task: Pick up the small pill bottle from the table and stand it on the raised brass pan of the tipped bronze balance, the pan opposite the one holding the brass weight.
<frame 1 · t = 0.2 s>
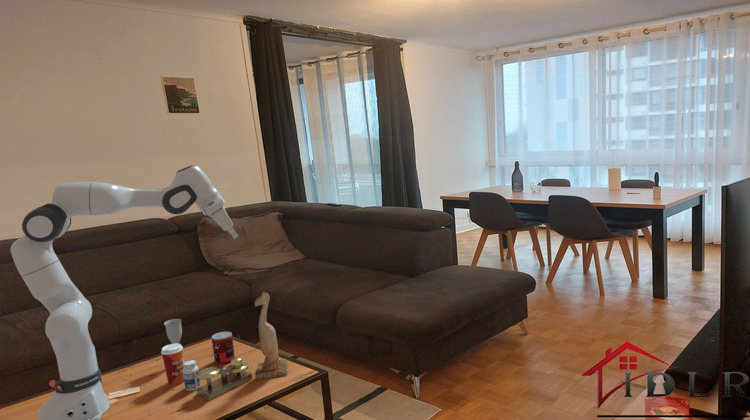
hand: (235, 235, 179), 54 cm above the table, tool tilted 30°, fingers open, 8 cm apart
canned food: (225, 360, 199), on the table
pill bottle: (193, 388, 178), on the table
balance: (225, 386, 177), on the table
bird sculpture: (272, 371, 186), on the table
chalice: (178, 364, 200), on the table
paper cup: (176, 382, 184), on the table
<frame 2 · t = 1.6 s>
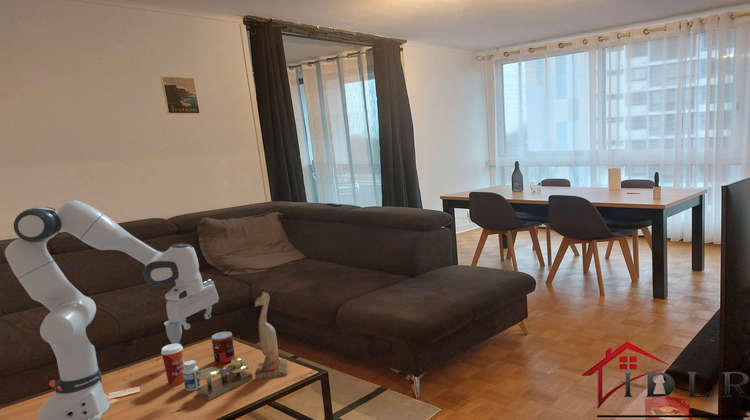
hand: (198, 323, 177), 23 cm above the table, tool pointing down, fingers open, 8 cm apart
nothing on the table moved.
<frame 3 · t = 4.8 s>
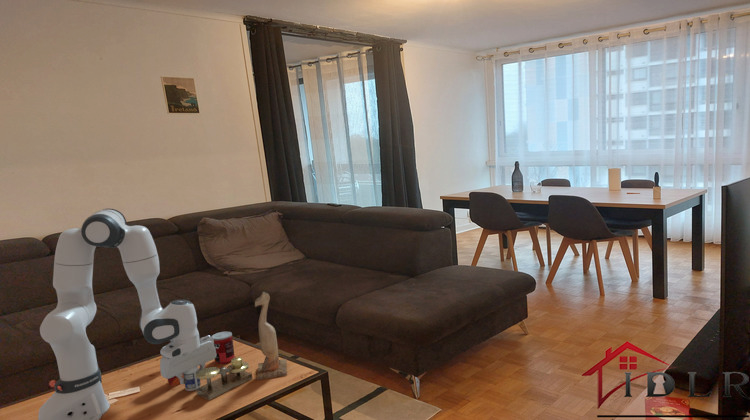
hand: (192, 379, 177), 3 cm above the table, tool pointing down, fingers closed on pill bottle, 5 cm apart
pill bottle: (193, 388, 178), on the table, touching gripper
everything else where it was.
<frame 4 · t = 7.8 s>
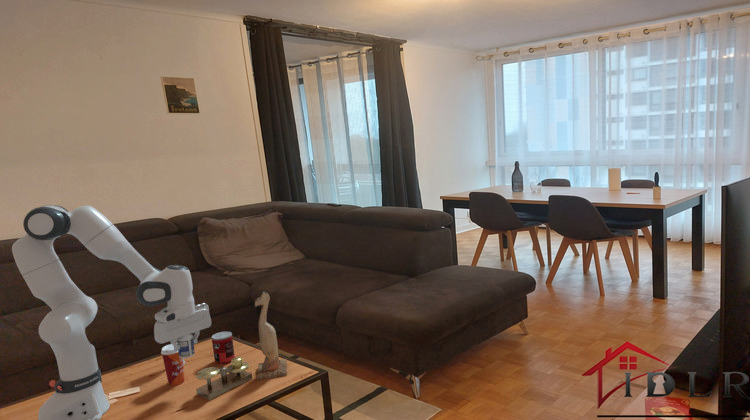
hand: (185, 346, 176), 16 cm above the table, tool pointing down, fingers closed on pill bottle, 5 cm apart
pill bottle: (187, 356, 176), point 12 cm above the table, touching gripper
everything else where it was.
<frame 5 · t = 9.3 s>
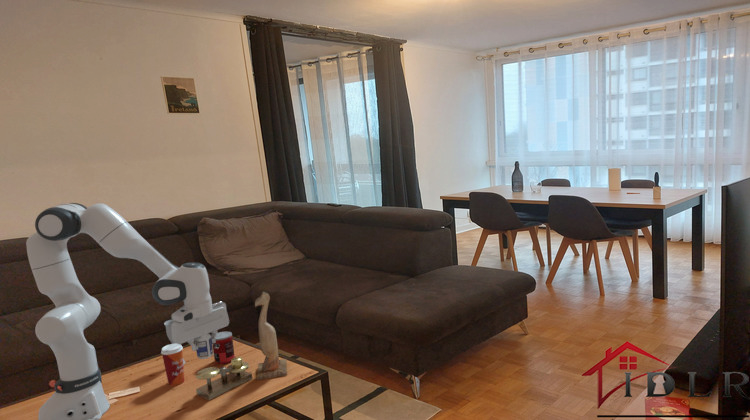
hand: (204, 346, 170), 18 cm above the table, tool pointing down, fingers closed on pill bottle, 5 cm apart
pill bottle: (205, 356, 170), point 14 cm above the table, touching gripper
everything else where it was.
when the fingers open (12 cm above the table, at t = 10.9 s): pill bottle stays where it is, resting on balance.
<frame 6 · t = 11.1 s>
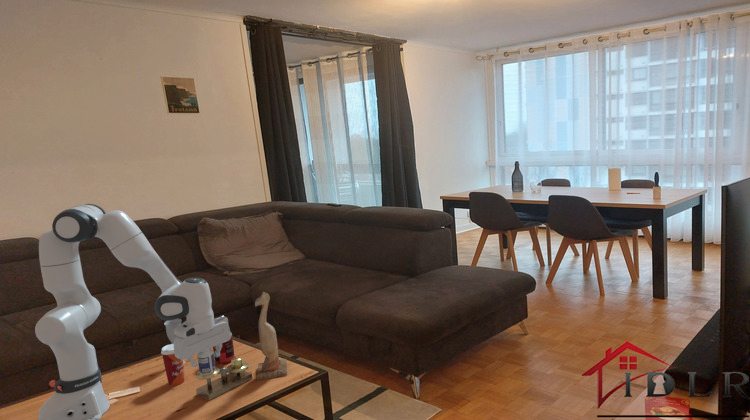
hand: (206, 361, 171), 12 cm above the table, tool pointing down, fingers open, 8 cm apart
pill bottle: (207, 372, 171), point 8 cm above the table, touching balance
everything else where it was.
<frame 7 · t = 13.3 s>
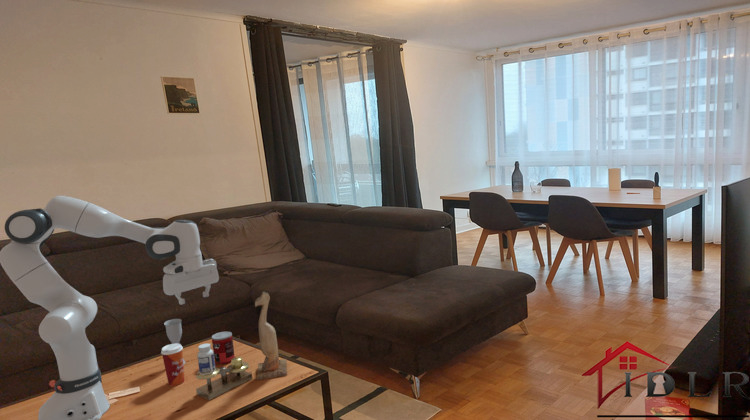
hand: (194, 300, 178), 31 cm above the table, tool pointing down, fingers open, 8 cm apart
nothing on the table moved.
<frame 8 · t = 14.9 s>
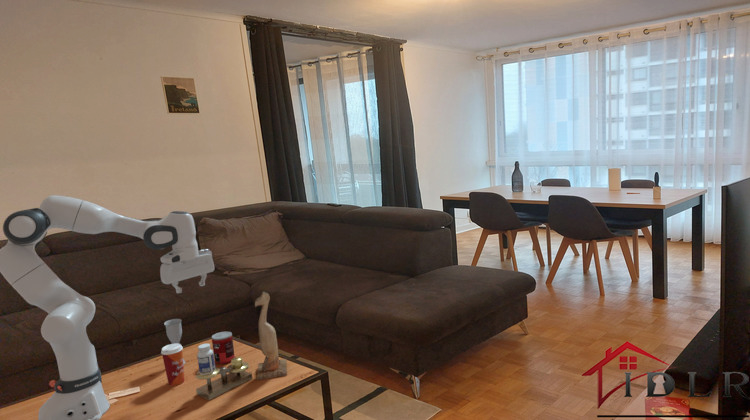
hand: (191, 289, 184), 34 cm above the table, tool pointing down, fingers open, 8 cm apart
nothing on the table moved.
at the end: pill bottle inside the target area on the balance (0.1 cm from its centre), point 7.8 cm above the balance's base; pill bottle tilted 1°; the gripper is holding nothing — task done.
